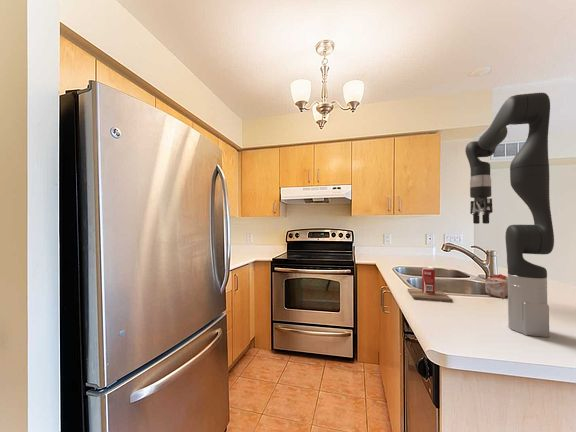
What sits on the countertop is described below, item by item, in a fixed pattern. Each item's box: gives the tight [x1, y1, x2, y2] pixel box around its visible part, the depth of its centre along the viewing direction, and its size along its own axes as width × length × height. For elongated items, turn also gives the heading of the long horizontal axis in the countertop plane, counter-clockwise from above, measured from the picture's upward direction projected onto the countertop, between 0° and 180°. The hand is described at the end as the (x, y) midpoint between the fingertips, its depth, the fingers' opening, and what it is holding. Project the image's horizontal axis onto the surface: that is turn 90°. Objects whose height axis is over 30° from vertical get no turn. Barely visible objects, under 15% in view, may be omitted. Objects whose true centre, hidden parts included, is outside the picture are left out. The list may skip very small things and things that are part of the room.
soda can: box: [421, 266, 436, 295], centre depth 121 cm, size 5×5×12 cm
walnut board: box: [407, 288, 454, 303], centre depth 121 cm, size 15×15×1 cm
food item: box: [484, 273, 508, 299], centre depth 123 cm, size 14×8×10 cm, turn 128°
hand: (480, 223), depth 114 cm, fingers open, 8 cm apart
